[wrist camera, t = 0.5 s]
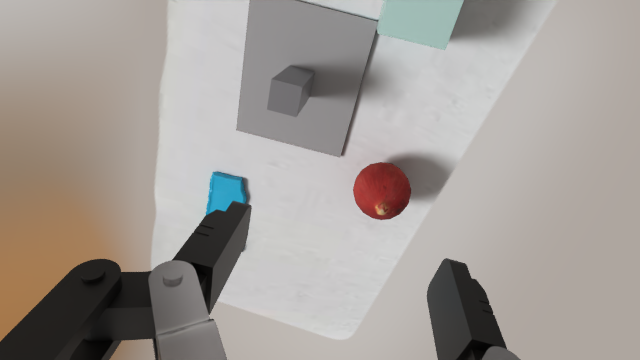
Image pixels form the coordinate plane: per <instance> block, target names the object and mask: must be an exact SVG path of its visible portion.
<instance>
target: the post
mask: <svg viewBox="0 0 640 360" xmlns="http://www.w3.org/2000/svg"><path fill="white" fill-rule="evenodd" d="M314 74H315V72H314V71H310V70H306V69H302V68H298V67H294V66H291V65H290V66H288V67H287V68H285V69H284V70H283V71H281V72H280V73H279V74H277V75H276V76H275V77H273V78H272V79H271V85H270V92H269V98H268V105H267V110H270V111H274V112H278V113H282V114H286V115H289V116H293V117H297V116H298V114H299V113H300V111H301V110H302V108H303V107H304V105H305V104H306V102H307V101H308V99H309V98H310V93H311V89H312V84H313V79H314Z"/></svg>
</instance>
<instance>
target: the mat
mask: <svg viewBox="0 0 640 360" xmlns="http://www.w3.org/2000/svg"><path fill="white" fill-rule="evenodd" d="M377 24H378V21H374V20H370V19H366V18H362V17H358V16H355V15H351V14H347V13H343V12H339V11H335V10H331V9H327V8H323V7H320V6H316V5H312V4H308V3H304V2H300V1H296V0H250V3H249V13H248V22H247V32H246V42H245V51H244V61H243V71H242V80H241V90H240V100H239V109H238V119H237V129H236V130H238V131H241V132H245V133H249V134H253V135H257V136H261V137H264V138H268V139H272V140H276V141H280V142H283V143H287V144H291V145H295V146H299V147H302V148H306V149H310V150H314V151H318V152H321V153H325V154H329V155H333V156H337V157H340V156H341V152H342V149H343V145H344V142H345V138H346V135H347V131H348V127H349V124H350V120H351V117H352V113H353V110H354V106H355V103H356V99H357V95H358V92H359V88H360V85H361V81H362V78H363V74H364V70H365V67H366V63H367V60H368V56H369V53H370V49H371V46H372V42H373V38H374V35H375V31H376V28H377ZM290 65H291V66H294V67H298V68H302V69H306V70H310V71H314V72H315V74H314V79H313V84H312V89H311V93H310V98H309V99H308V101H307V102H306V104H305V105H304V107H303V108H302V110H301V111H300V113H299V114H298V116H297V117H293V116H289V115H286V114H282V113H278V112H274V111H270V110H267V105H268V98H269V92H270V85H271V79H272V78H273V77H275V76H276V75H277V74H279V73H280V72H281V71H283V70H284V69H285V68H287V67H288V66H290Z"/></svg>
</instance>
